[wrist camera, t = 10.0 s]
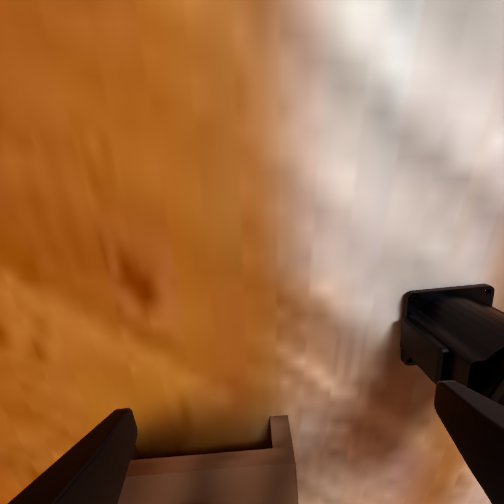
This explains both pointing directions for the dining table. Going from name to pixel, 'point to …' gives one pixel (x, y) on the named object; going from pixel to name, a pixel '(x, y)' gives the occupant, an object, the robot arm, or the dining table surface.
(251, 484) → the walnut shelf
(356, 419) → the dining table surface
